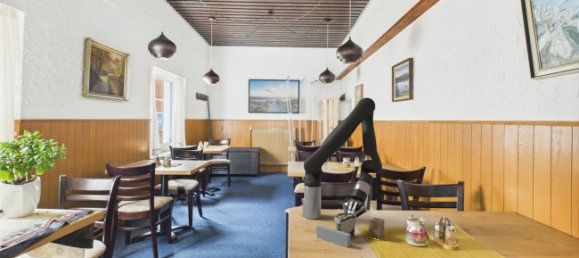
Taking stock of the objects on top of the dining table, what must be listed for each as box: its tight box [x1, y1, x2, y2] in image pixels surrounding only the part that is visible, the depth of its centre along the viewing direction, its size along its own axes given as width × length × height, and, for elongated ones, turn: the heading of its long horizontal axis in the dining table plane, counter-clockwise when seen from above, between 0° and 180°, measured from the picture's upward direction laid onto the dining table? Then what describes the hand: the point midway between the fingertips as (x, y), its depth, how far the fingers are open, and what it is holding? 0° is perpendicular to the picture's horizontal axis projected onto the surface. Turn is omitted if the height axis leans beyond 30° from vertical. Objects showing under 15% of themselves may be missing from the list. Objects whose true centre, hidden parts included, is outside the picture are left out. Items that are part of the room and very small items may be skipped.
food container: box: [334, 212, 357, 239], centre depth 135 cm, size 12×6×10 cm, turn 132°
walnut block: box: [368, 217, 385, 241], centre depth 135 cm, size 5×5×8 cm
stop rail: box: [316, 224, 351, 248], centre depth 130 cm, size 16×2×5 cm, turn 48°
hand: (347, 223), depth 139 cm, fingers closed
